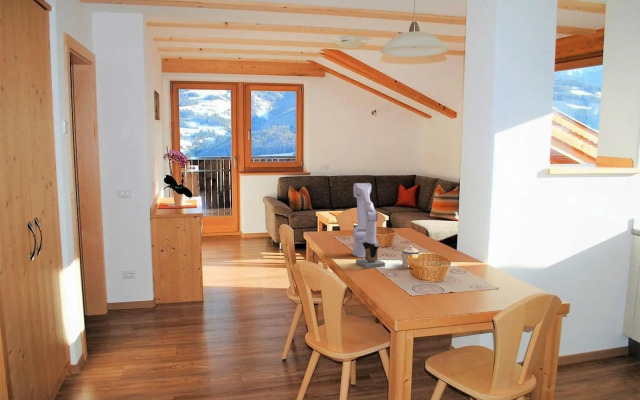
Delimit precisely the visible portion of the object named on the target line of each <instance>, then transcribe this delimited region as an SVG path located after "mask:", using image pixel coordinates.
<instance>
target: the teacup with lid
mask: <svg viewBox="0 0 640 400" xmlns="http://www.w3.org/2000/svg"><path fill="white" fill-rule="evenodd" d="M412 254H420V251H419V250H418V249H417V248H415V247H414V246H413V245H409V246H408V247H407V248H404V249H402V252H401V259H402V267H403V268H406V269H410V268H409V267H408V262H407V257H408V256H409V255H412Z"/></svg>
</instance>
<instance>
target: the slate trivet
mask: <svg viewBox="0 0 640 400" xmlns="http://www.w3.org/2000/svg"><path fill="white" fill-rule="evenodd" d="M355 264H356V265H358V266H360V267H362V268H364V269H375V268H381V267H383V268H384V267H386V263H385V262H384V261H382V260H380V259H378V258H377V261H368V260H366V259H365V258H360V259H355Z"/></svg>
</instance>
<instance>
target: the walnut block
mask: <svg viewBox="0 0 640 400" xmlns="http://www.w3.org/2000/svg"><path fill="white" fill-rule="evenodd" d="M364 259H366V260H368V261H377V259H378V249H377V251H376V254H375V257H374V258H371V255H370V249H365V257H364Z"/></svg>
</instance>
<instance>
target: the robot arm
mask: <svg viewBox="0 0 640 400" xmlns="http://www.w3.org/2000/svg"><path fill="white" fill-rule="evenodd" d="M352 188H353V189H352V190H353V197H354V198H356V206H357V207H356V208H357V209H356V210H357V211H356V212H357V225H356V226H355V227H354V228H353V233H352V238H353V239H352V240H353V241H354V242H353V246H352V247H353V248H352V250H353V252H352V253H351V255H353V256H355V257H357V258H365V249H370V255H371V258H374V257H375V254H376V251H377V250H378V249H379V247H380V246H379V242H378V239H377V222H378V219H379V216H378V215H379V214H378V212H377V210H376V209H375V206H374V203H373V202H372V201H371V198H370V195H371V192H372V184H371V183H370V182H366V183H365V182H362V183H361V182H355V183H354V184H353V187H352Z"/></svg>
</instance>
